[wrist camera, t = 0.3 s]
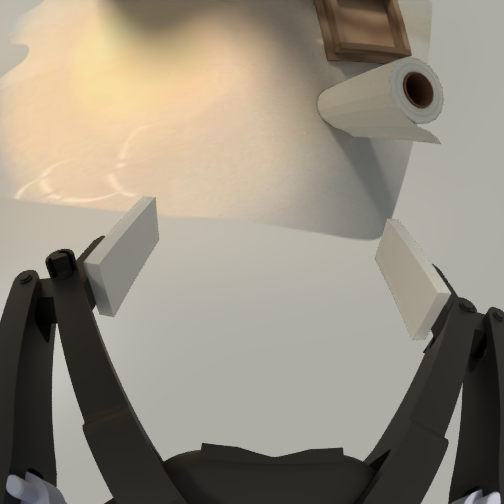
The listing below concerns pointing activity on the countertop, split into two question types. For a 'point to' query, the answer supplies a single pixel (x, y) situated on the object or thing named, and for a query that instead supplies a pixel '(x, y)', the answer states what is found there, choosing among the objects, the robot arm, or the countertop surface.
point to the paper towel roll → (386, 102)
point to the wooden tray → (363, 30)
